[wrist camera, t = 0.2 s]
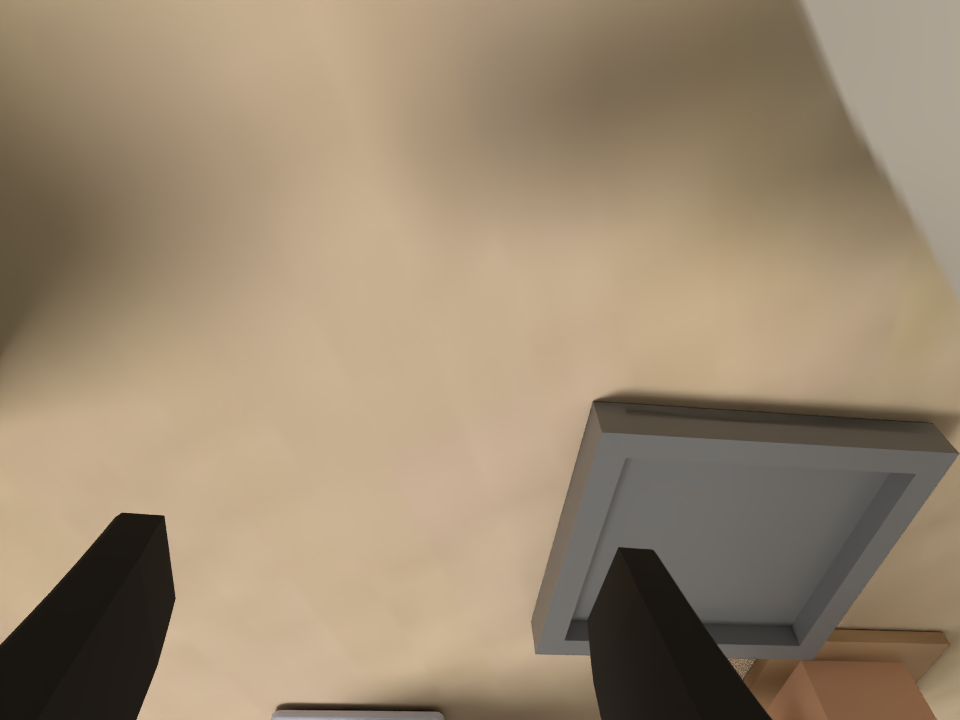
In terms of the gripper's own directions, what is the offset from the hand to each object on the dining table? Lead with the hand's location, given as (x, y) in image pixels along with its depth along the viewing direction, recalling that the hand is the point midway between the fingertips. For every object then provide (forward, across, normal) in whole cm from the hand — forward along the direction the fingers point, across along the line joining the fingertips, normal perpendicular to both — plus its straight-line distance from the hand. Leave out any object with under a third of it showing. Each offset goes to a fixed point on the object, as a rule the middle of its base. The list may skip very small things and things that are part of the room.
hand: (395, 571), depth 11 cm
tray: (+10, -13, +10) cm, 19 cm away
